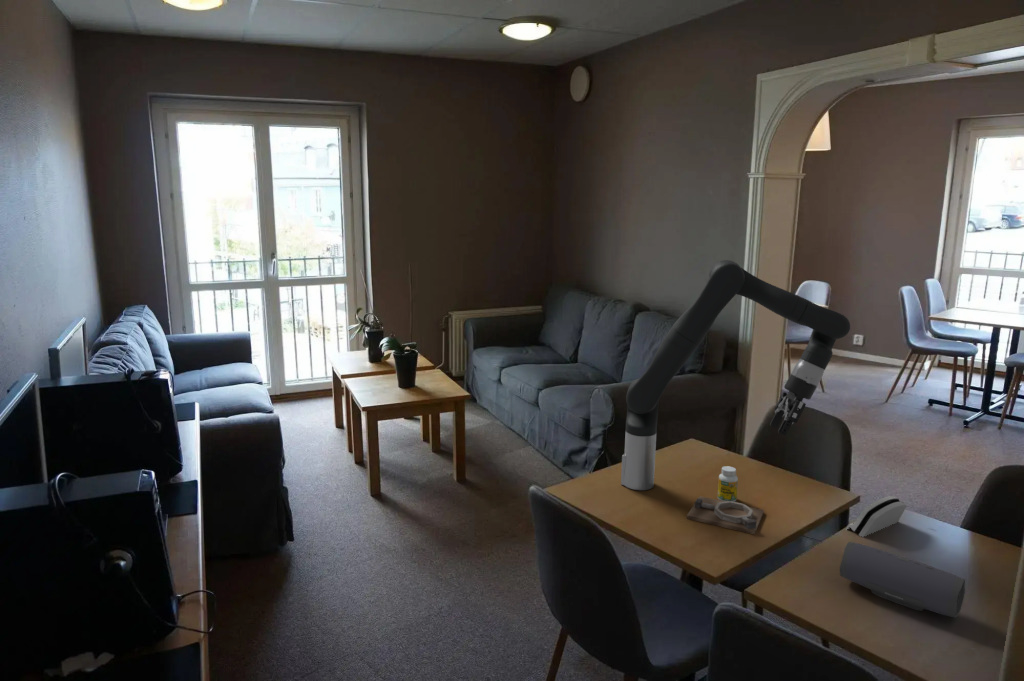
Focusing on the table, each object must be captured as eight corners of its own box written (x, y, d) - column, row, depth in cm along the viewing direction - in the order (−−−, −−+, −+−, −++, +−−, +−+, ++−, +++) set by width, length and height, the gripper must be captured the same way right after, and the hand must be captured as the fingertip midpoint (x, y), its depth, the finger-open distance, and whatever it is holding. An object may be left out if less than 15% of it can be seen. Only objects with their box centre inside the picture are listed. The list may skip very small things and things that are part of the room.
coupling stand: (686, 518, 188) (687, 509, 187) (699, 499, 200) (700, 490, 199) (754, 534, 180) (755, 524, 179) (763, 513, 191) (764, 504, 191)
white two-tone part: (880, 514, 191) (896, 488, 186) (895, 526, 188) (912, 499, 183) (844, 529, 182) (860, 502, 178) (859, 542, 179) (876, 514, 174)
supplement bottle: (736, 496, 202) (738, 466, 200) (736, 504, 197) (739, 473, 195) (717, 494, 203) (719, 464, 201) (717, 501, 198) (719, 471, 196)
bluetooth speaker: (962, 611, 147) (968, 569, 145) (952, 631, 140) (959, 587, 138) (850, 571, 162) (855, 533, 160) (836, 587, 155) (841, 547, 153)
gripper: (784, 369, 197) (758, 419, 199) (799, 377, 182) (771, 430, 185) (808, 380, 196) (782, 430, 198) (825, 389, 182) (797, 442, 184)
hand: (777, 430), depth 191 cm, fingers open, 8 cm apart
